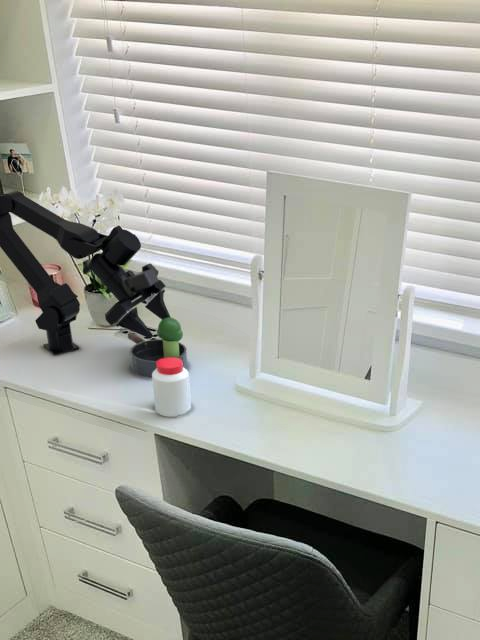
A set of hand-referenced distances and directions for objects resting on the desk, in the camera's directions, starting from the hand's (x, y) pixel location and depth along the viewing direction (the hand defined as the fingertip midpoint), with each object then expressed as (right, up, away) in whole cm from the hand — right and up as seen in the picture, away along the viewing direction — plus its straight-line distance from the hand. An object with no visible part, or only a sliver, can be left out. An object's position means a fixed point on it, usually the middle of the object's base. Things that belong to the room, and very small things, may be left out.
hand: (161, 330), depth 182 cm
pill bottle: (+5, -19, -11) cm, 23 cm away
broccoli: (+1, -8, +5) cm, 9 cm away
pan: (-2, -8, +6) cm, 10 cm away
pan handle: (-8, -1, +10) cm, 13 cm away
